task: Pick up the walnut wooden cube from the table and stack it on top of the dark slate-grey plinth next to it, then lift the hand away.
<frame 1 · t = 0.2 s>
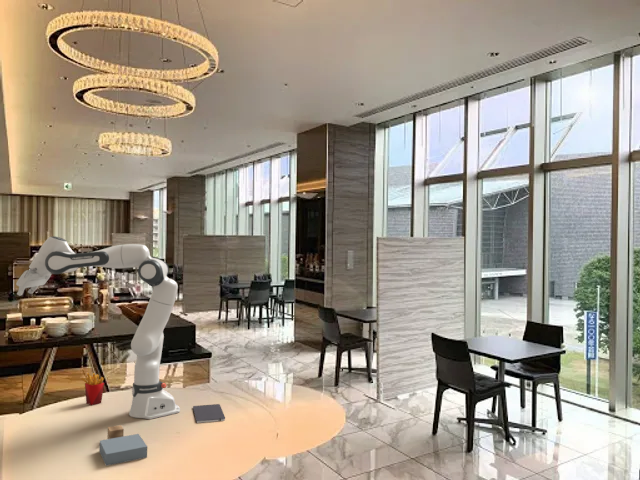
hand: (24, 294, 220), 54 cm above the table, tool tilted 30°, fingers open, 8 cm apart
slate plinth: (122, 454, 179), on the table
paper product: (208, 415, 225), on the table
walnut cube: (115, 440, 191), on the table
french fries: (92, 404, 234), on the table
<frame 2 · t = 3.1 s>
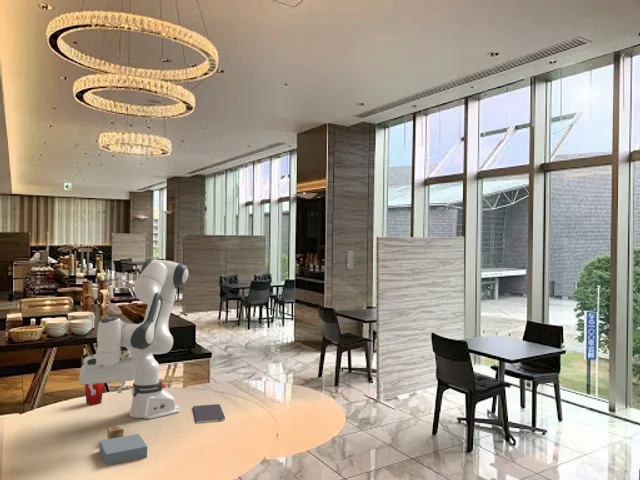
hand: (106, 393, 190), 19 cm above the table, tool pointing down, fingers open, 8 cm apart
nothing on the table moved.
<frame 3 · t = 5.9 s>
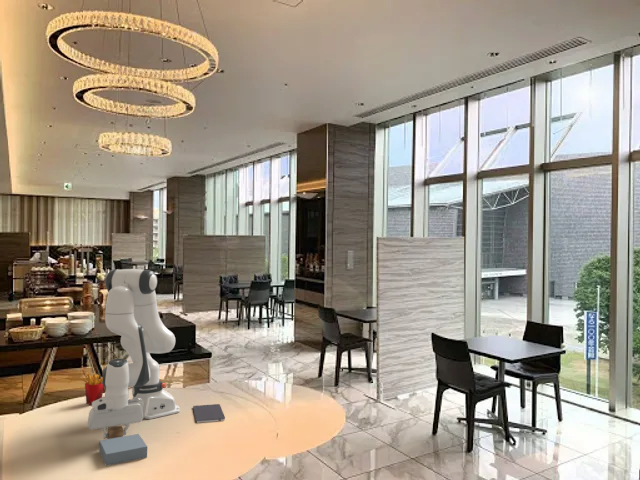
hand: (115, 436, 191), 2 cm above the table, tool pointing down, fingers closed on walnut cube, 5 cm apart
walnut cube: (115, 440, 191), on the table, touching gripper
everything else where it was.
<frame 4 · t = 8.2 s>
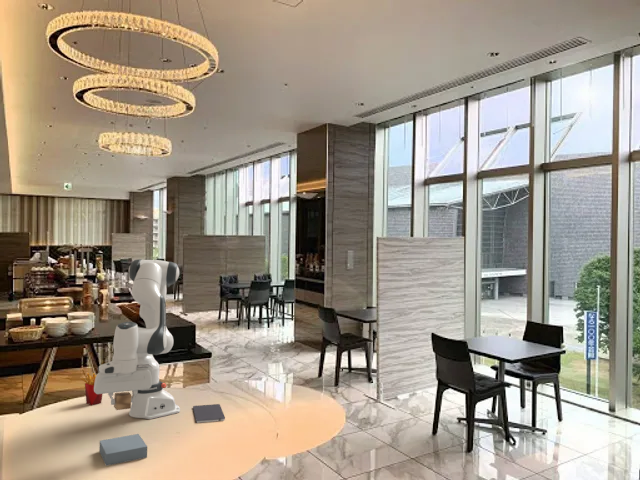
hand: (122, 403, 181), 18 cm above the table, tool pointing down, fingers closed on walnut cube, 5 cm apart
walnut cube: (122, 407, 181), point 17 cm above the table, touching gripper
everything else where it was.
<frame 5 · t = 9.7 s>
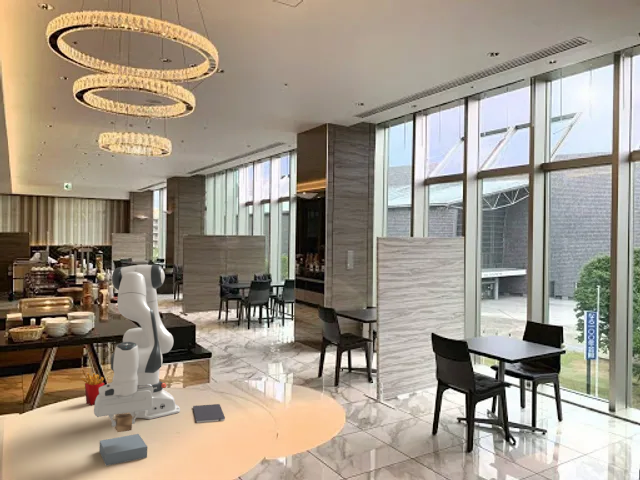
hand: (123, 424, 179), 11 cm above the table, tool pointing down, fingers closed on walnut cube, 5 cm apart
walnut cube: (123, 429, 179), point 9 cm above the table, touching gripper
everything else where it was.
when the fingers open (7 cm above the table, at t = 10.8 s): walnut cube drops 1 cm, resting on slate plinth.
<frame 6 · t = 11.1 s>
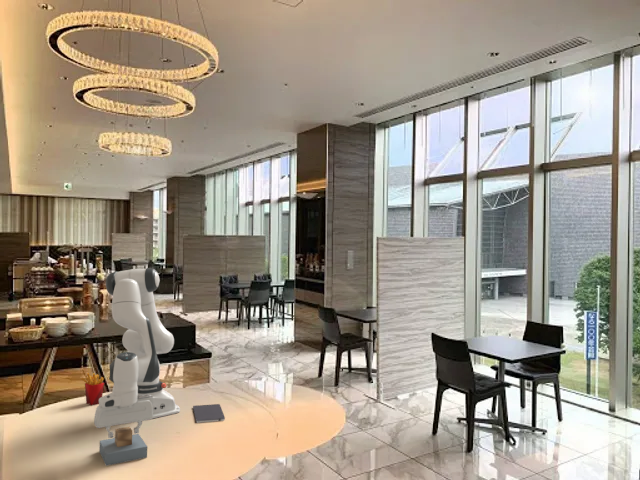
hand: (123, 435, 179), 7 cm above the table, tool pointing down, fingers open, 8 cm apart
walnut cube: (123, 443, 179), point 4 cm above the table, touching slate plinth
everything else where it was.
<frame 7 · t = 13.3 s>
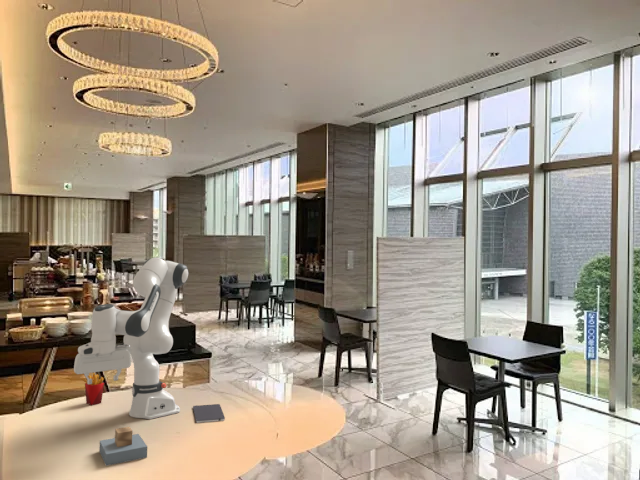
hand: (102, 382, 188), 24 cm above the table, tool pointing down, fingers open, 8 cm apart
nothing on the table moved.
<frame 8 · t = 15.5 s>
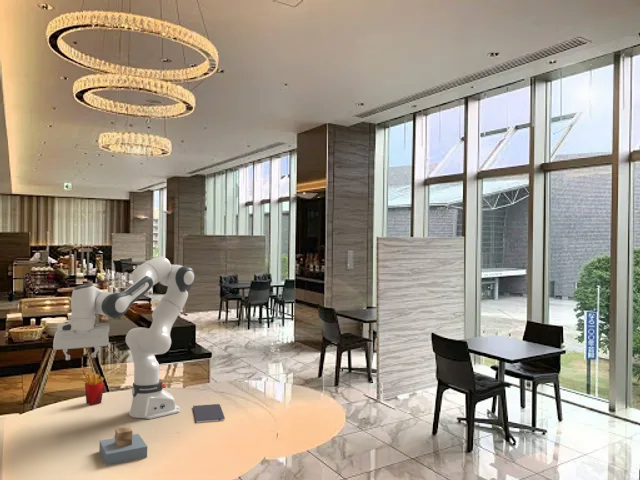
hand: (80, 358, 196), 31 cm above the table, tool pointing down, fingers open, 8 cm apart
nothing on the table moved.
at the end: walnut cube inside the target area on the slate plinth (0.0 cm from its centre), point 4.0 cm above the slate plinth's base; walnut cube tilted 0°; the gripper is holding nothing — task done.
